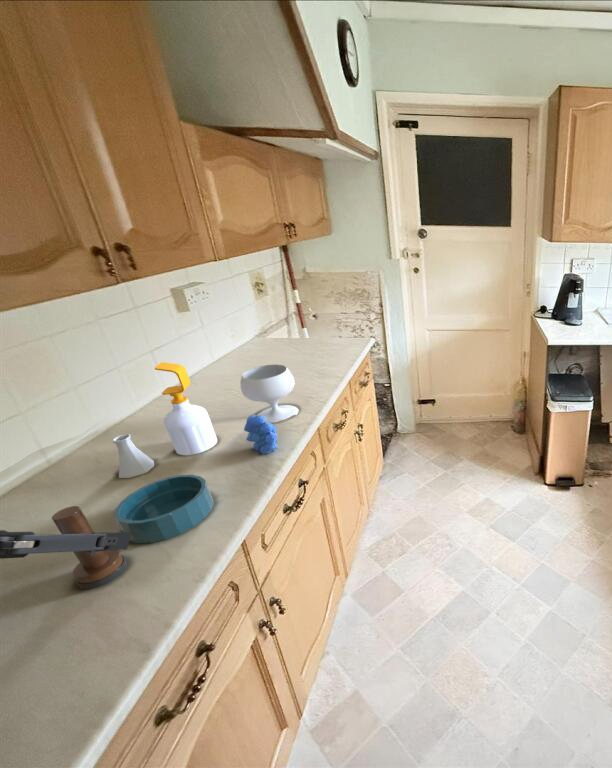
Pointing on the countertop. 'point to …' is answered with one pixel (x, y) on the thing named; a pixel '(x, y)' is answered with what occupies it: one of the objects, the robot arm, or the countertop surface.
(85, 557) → the dish brush
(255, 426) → the grapes
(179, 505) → the bowl
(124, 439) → the flask
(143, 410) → the countertop surface
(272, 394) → the chalice
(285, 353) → the countertop surface
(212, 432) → the soap bottle
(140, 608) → the countertop surface
